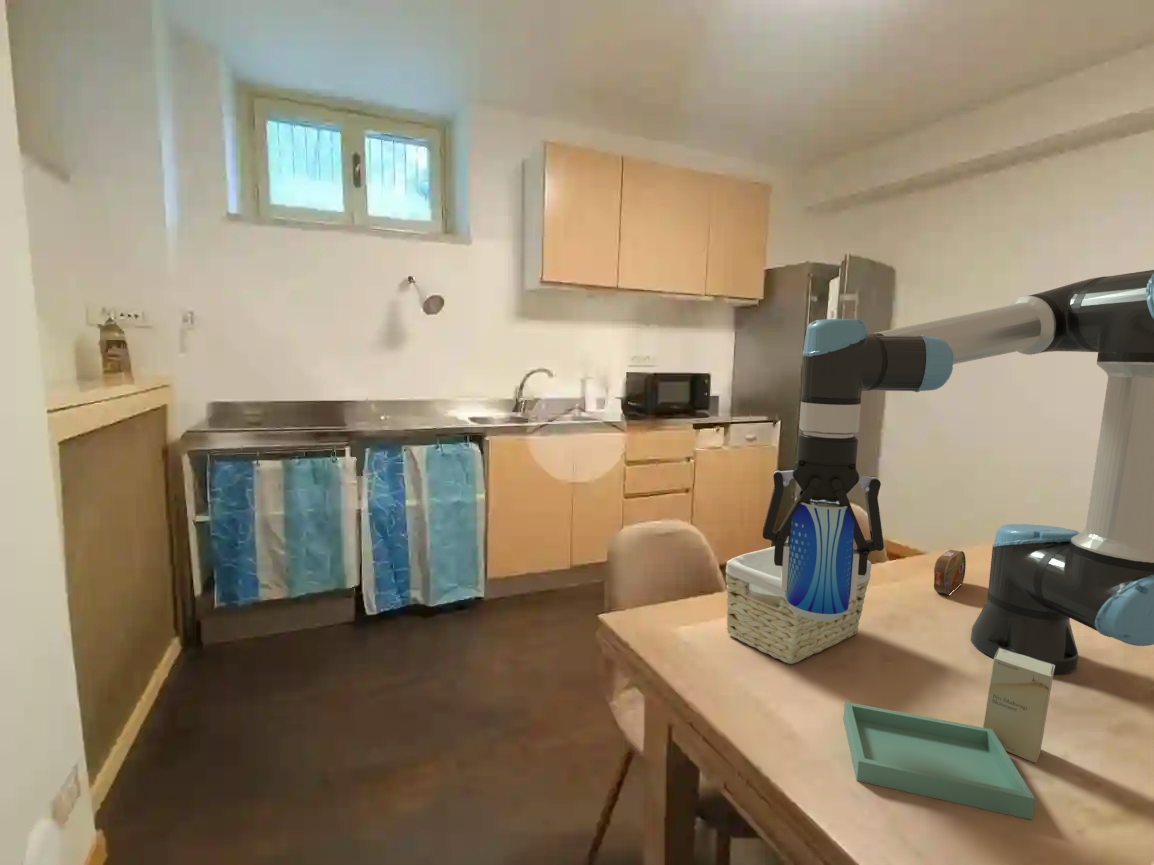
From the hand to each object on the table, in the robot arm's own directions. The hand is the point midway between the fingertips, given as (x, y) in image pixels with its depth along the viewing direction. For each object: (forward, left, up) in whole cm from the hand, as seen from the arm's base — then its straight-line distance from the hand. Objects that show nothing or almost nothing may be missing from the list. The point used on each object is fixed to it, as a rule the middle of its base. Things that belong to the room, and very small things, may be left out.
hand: (817, 591), depth 83 cm
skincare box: (-26, -1, -18) cm, 32 cm away
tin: (-34, -61, -18) cm, 72 cm away
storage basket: (+1, -24, -19) cm, 30 cm away
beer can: (0, 0, -3) cm, 3 cm away
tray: (-14, +7, -18) cm, 24 cm away
